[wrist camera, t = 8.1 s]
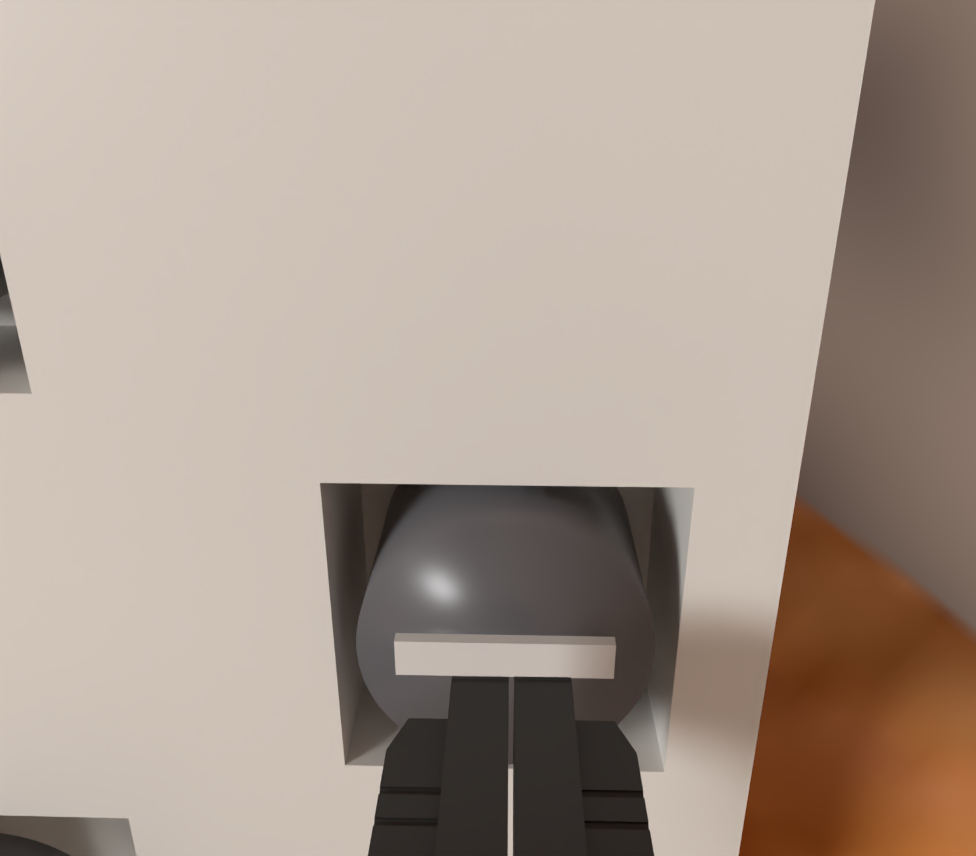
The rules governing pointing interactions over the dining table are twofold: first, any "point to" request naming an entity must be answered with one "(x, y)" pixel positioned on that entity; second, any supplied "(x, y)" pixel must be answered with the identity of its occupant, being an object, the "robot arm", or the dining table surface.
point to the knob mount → (388, 372)
